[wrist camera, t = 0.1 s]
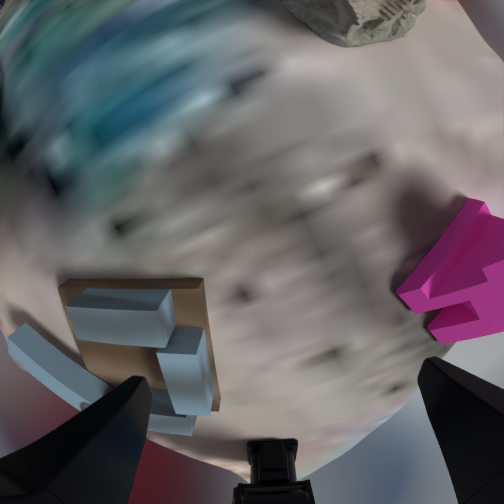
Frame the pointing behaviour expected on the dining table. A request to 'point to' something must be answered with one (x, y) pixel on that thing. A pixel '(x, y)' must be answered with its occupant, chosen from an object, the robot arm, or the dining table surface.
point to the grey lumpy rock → (357, 19)
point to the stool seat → (148, 342)
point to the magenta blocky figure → (462, 277)
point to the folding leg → (55, 368)
